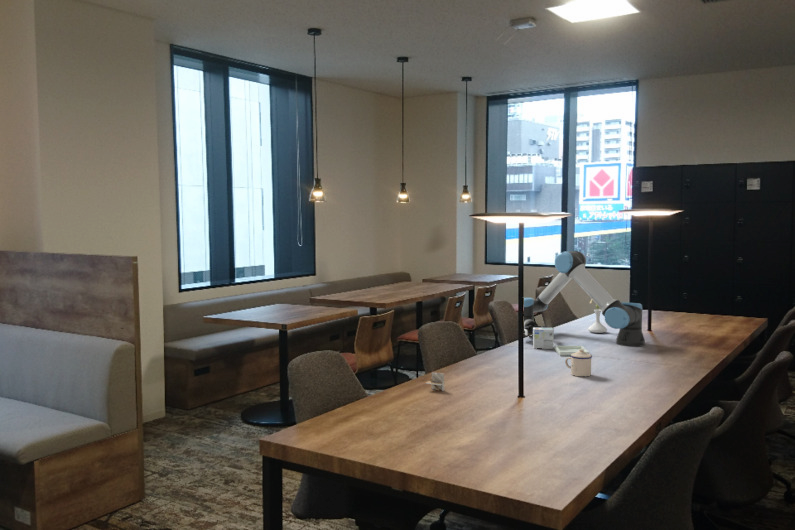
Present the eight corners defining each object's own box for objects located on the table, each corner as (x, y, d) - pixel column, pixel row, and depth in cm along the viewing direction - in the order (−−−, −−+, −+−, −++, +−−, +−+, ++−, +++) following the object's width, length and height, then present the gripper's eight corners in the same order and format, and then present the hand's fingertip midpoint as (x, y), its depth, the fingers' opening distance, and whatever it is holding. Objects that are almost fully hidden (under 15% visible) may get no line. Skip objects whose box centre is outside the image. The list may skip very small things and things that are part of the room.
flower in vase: (591, 330, 424) (592, 290, 422) (609, 332, 417) (610, 291, 415) (584, 333, 413) (584, 292, 411) (602, 335, 406) (603, 293, 404)
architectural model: (441, 393, 277) (441, 375, 276) (425, 391, 280) (425, 373, 280) (444, 391, 280) (444, 373, 279) (429, 389, 283) (429, 371, 283)
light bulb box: (552, 346, 371) (552, 327, 370) (553, 349, 365) (554, 329, 364) (532, 346, 372) (532, 327, 372) (533, 349, 366) (533, 329, 365)
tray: (582, 349, 363) (582, 345, 362) (588, 356, 346) (589, 352, 346) (554, 349, 363) (554, 345, 363) (559, 355, 347) (559, 351, 347)
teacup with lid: (594, 374, 306) (595, 348, 306) (587, 378, 299) (587, 352, 298) (569, 370, 314) (569, 345, 313) (561, 374, 306) (561, 349, 305)
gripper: (551, 332, 399) (561, 339, 378) (509, 333, 398) (516, 339, 377) (551, 320, 399) (561, 326, 377) (509, 320, 398) (516, 326, 377)
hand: (539, 333), depth 377 cm, fingers open, 13 cm apart
